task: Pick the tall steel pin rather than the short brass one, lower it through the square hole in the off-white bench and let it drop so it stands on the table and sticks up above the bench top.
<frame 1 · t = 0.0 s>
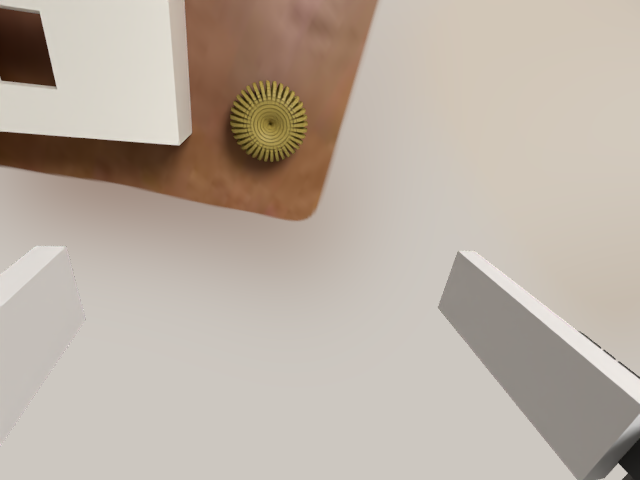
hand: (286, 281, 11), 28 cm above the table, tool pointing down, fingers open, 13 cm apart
sculpture: (268, 120, 35), on the table
white bench: (59, 53, 29), on the table
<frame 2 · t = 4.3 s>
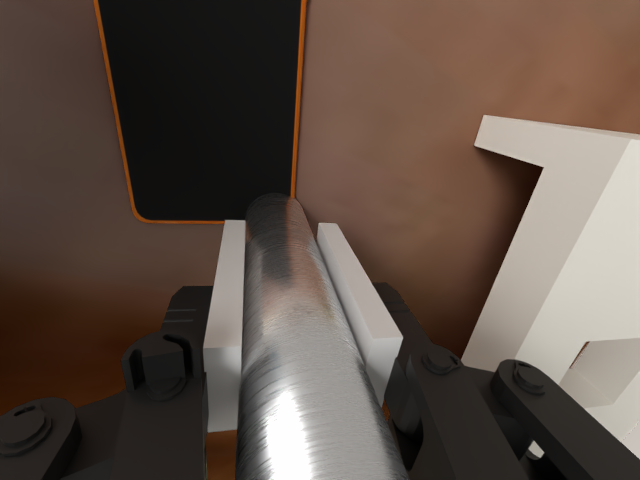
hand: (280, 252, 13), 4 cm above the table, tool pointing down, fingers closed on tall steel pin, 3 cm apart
smartphone: (209, 24, 12), on the table
tall steel pin: (275, 218, 16), on the table, touching gripper
white bench: (503, 292, 22), on the table
when the fingers open (9 cm above the table, at t = 10.0 s): tall steel pin drops 5 cm, on the table.
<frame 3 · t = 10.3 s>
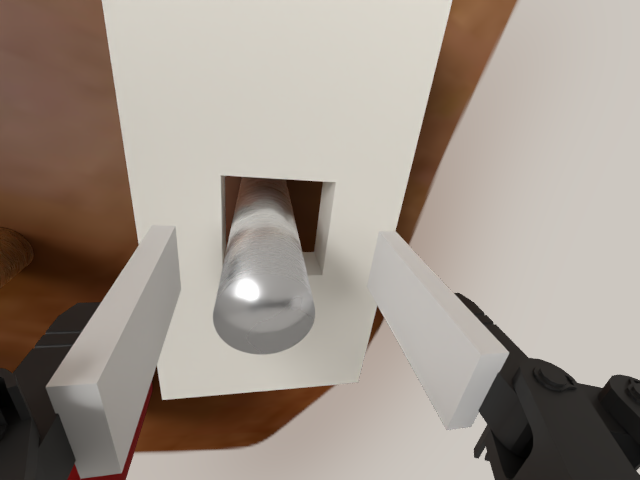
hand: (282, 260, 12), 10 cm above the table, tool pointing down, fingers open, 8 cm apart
beverage can: (111, 377, 26), on the table
tall steel pin: (263, 186, 21), on the table
white bench: (269, 185, 21), on the table
short brass pin: (4, 249, 20), on the table
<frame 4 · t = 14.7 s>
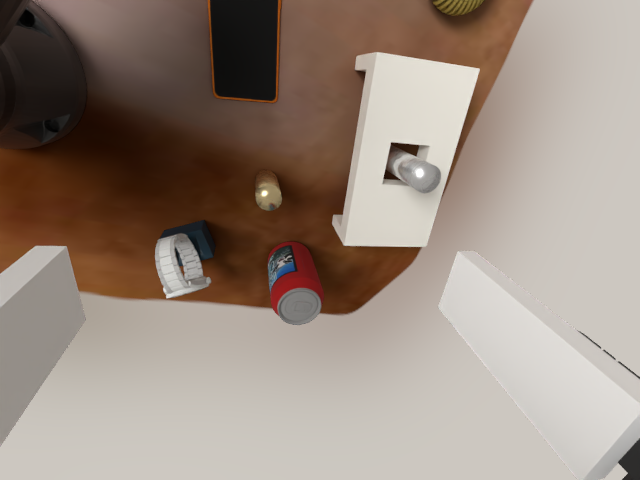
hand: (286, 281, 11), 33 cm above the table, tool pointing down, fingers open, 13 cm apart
smartphone: (245, 17, 34), on the table
beverage can: (289, 257, 49), on the table
watch: (191, 238, 44), on the table
tall steel pin: (381, 153, 44), on the table
white bench: (384, 152, 44), on the table
short brass pin: (266, 180, 42), on the table
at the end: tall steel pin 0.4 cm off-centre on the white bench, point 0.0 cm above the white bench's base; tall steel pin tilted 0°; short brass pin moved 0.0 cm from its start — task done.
